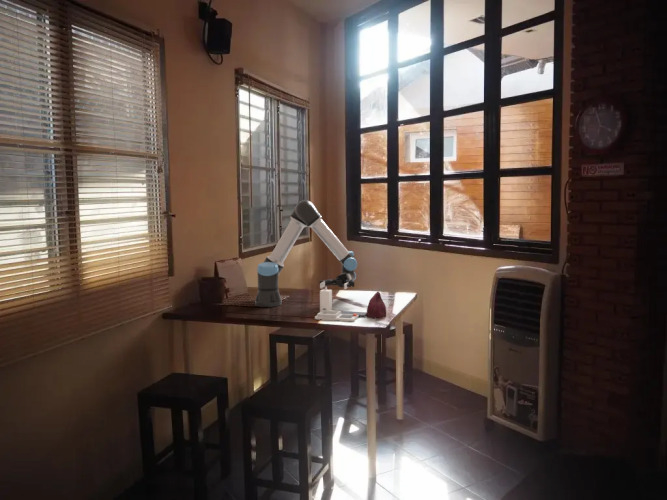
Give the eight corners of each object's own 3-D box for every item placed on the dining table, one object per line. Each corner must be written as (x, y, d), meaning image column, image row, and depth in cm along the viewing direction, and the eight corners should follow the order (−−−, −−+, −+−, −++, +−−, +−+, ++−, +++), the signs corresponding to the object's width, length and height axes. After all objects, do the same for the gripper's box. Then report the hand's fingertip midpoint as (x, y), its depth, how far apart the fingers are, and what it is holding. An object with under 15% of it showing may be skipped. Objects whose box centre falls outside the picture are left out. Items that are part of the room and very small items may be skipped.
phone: (364, 317, 258) (364, 315, 258) (338, 315, 262) (338, 313, 262) (368, 314, 264) (368, 312, 264) (342, 312, 269) (342, 310, 268)
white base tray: (314, 319, 255) (314, 313, 254) (321, 314, 264) (321, 309, 264) (353, 321, 249) (353, 316, 248) (358, 317, 258) (358, 312, 258)
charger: (319, 313, 267) (319, 287, 265) (323, 311, 272) (322, 285, 270) (329, 314, 265) (328, 288, 264) (332, 312, 270) (331, 286, 269)
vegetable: (387, 324, 257) (392, 297, 252) (366, 322, 256) (371, 295, 251) (384, 314, 267) (389, 288, 262) (364, 312, 266) (369, 286, 261)
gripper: (364, 287, 293) (355, 293, 273) (323, 285, 301) (311, 292, 281) (364, 274, 293) (354, 280, 272) (322, 273, 300) (310, 278, 280)
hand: (332, 286), depth 277 cm, fingers open, 13 cm apart
